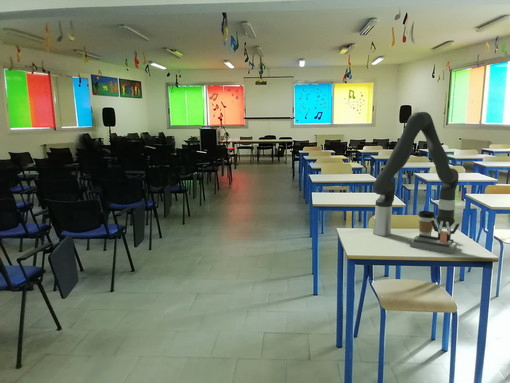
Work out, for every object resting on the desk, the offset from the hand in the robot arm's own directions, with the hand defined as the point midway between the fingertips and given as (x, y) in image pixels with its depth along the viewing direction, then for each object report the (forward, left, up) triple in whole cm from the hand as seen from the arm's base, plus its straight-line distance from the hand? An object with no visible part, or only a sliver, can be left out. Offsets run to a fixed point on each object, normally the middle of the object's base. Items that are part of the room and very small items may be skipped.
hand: (443, 240), depth 199 cm
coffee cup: (-13, +16, -5) cm, 21 cm away
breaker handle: (0, 0, -1) cm, 1 cm away
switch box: (-5, 0, -5) cm, 7 cm away
